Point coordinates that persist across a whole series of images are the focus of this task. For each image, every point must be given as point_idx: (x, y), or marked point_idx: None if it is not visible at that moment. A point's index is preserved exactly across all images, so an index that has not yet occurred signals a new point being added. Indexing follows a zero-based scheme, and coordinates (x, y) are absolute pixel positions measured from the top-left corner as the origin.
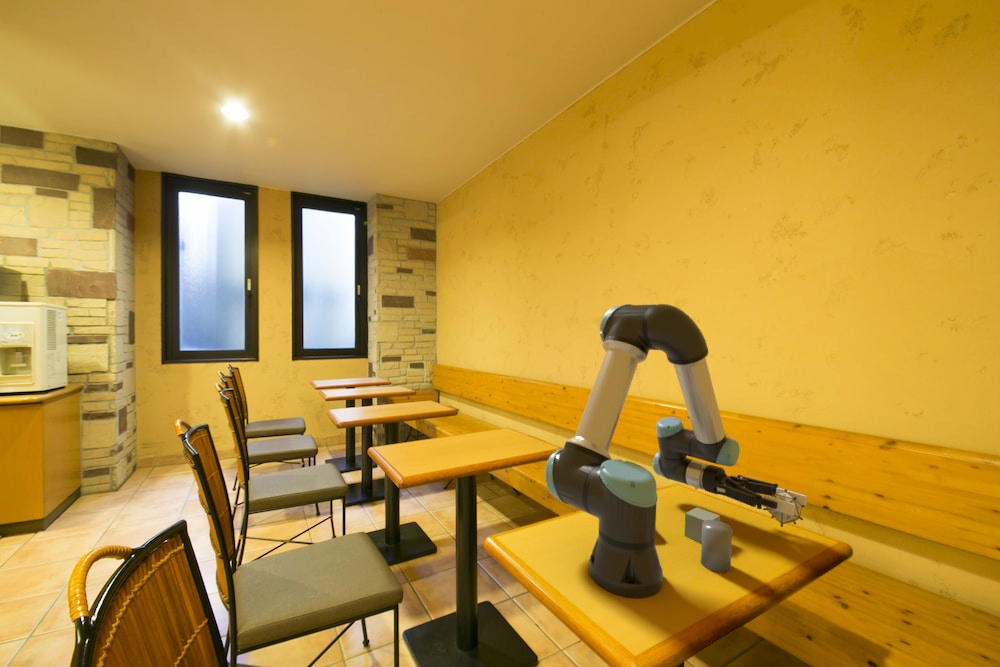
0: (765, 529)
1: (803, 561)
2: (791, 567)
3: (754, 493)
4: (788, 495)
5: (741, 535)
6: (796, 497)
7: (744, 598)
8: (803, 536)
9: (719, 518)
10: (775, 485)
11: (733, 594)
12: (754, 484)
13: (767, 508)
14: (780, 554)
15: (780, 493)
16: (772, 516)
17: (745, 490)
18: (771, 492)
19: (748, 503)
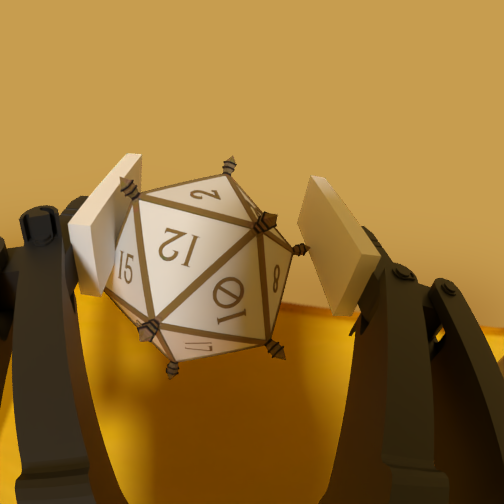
0: (127, 445)
1: (280, 311)
2: (341, 322)
3: (408, 302)
4: (195, 185)
5: (295, 492)
6: (232, 159)
7: (490, 331)
8: (87, 331)
9: None
10: (50, 223)
11: (500, 343)
12: (75, 395)
13: (270, 332)
14: (302, 357)
15: (201, 206)
16: (176, 367)
17: (428, 372)
18: (269, 227)
19: (438, 349)
